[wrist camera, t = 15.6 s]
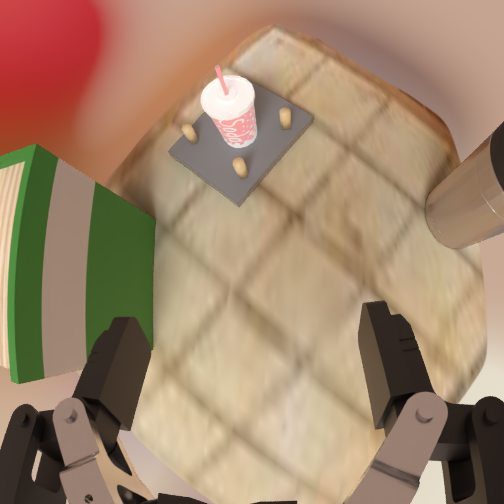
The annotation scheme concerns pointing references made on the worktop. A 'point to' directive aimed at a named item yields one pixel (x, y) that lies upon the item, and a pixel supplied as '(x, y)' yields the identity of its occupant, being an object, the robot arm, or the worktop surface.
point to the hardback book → (66, 264)
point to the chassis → (246, 158)
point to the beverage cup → (231, 108)
